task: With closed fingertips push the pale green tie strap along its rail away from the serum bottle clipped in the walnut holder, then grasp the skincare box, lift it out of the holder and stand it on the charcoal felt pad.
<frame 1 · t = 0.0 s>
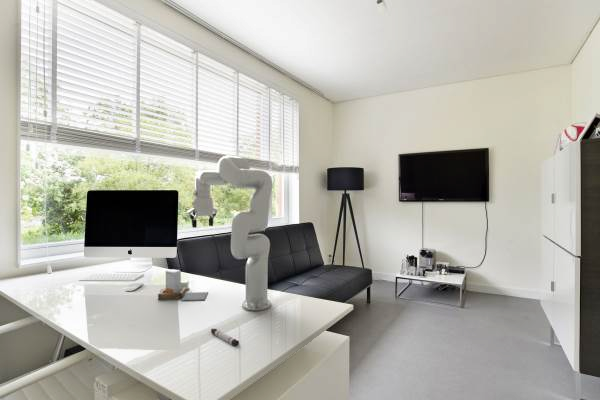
hand: (202, 226, 166), 31 cm above the table, tool pointing down, fingers open, 9 cm apart
skincare box: (173, 295, 150), on the table
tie: (181, 283, 157), point 4 cm above the table, slide at 0.0 cm
marker: (223, 339, 107), on the table
pad: (195, 297, 147), on the table
holder: (173, 295, 150), on the table
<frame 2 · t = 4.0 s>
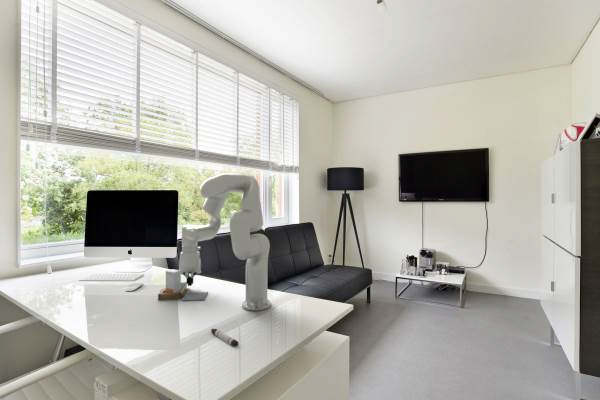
hand: (190, 285, 158), 2 cm above the table, tool pointing down, fingers closed
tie: (180, 283, 156), point 4 cm above the table, slide at 0.8 cm, touching gripper
everything else where it was.
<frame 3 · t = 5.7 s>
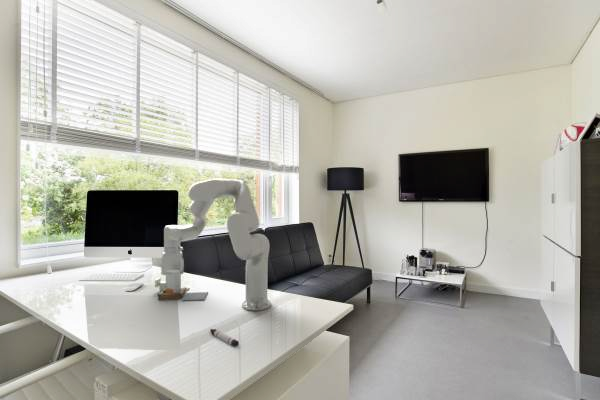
hand: (172, 285, 157), 2 cm above the table, tool pointing down, fingers closed
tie: (162, 284, 155), point 4 cm above the table, slide at 9.4 cm, touching gripper
everything else where it was.
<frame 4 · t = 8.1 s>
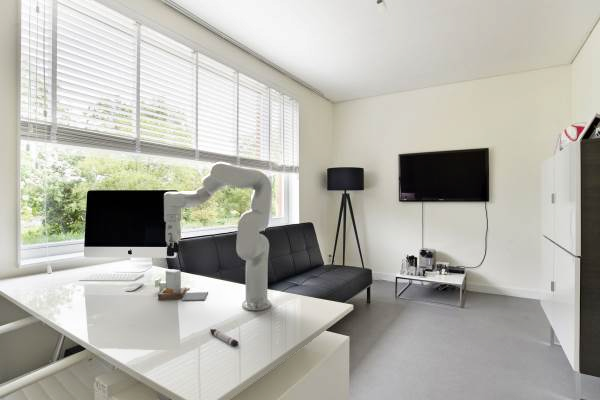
hand: (173, 254, 149), 20 cm above the table, tool pointing down, fingers open, 7 cm apart
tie: (162, 284, 155), point 4 cm above the table, slide at 9.4 cm
everything else where it was.
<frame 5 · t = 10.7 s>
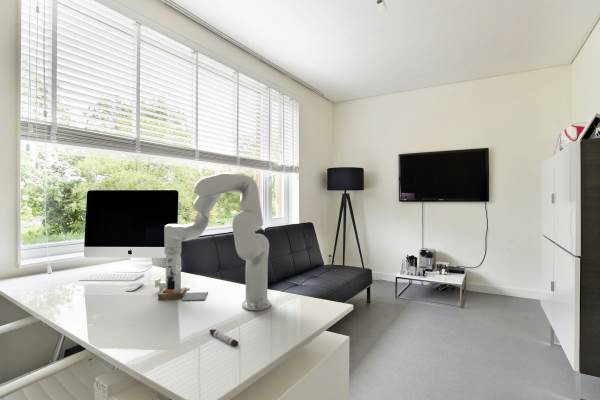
hand: (173, 286, 150), 4 cm above the table, tool pointing down, fingers closed on skincare box, 6 cm apart
skincare box: (173, 295, 150), on the table, touching gripper
everything else where it was.
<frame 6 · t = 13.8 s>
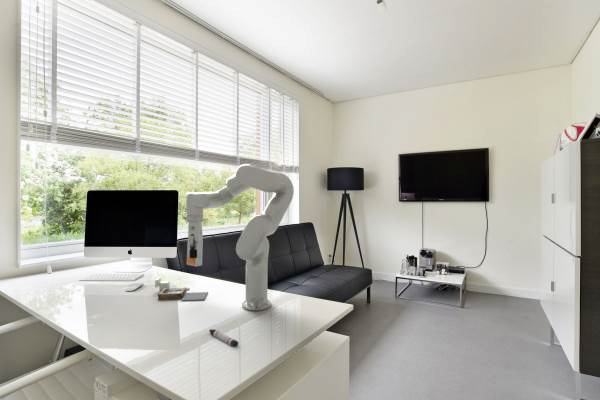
hand: (195, 256, 147), 20 cm above the table, tool pointing down, fingers closed on skincare box, 6 cm apart
skincare box: (194, 265, 147), point 15 cm above the table, touching gripper
everything else where it was.
when the fingers open (6 cm above the table, at t = 17.1 s): skincare box stays where it is, resting on pad.
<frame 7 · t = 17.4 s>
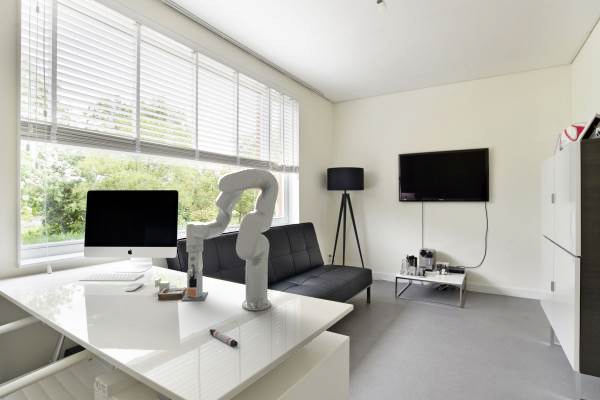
hand: (195, 284, 147), 6 cm above the table, tool pointing down, fingers open, 9 cm apart
skincare box: (194, 296, 147), resting on pad
everything else where it was.
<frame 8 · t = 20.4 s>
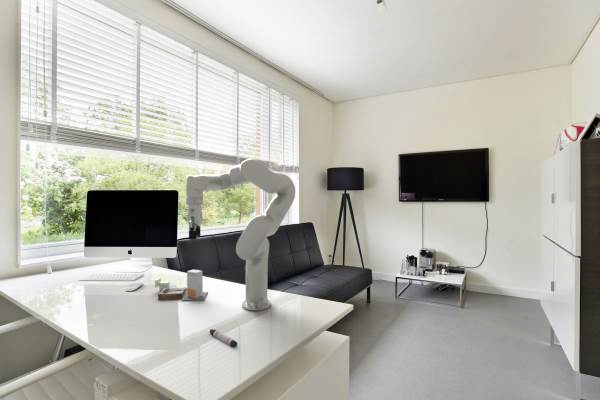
hand: (194, 237, 146), 28 cm above the table, tool pointing down, fingers open, 9 cm apart
nothing on the table moved.
at the end: skincare box inside the target area on the pad (0.1 cm from its centre), point 0.4 cm above the pad's base; skincare box tilted 0°; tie slide at 9.4 cm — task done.
